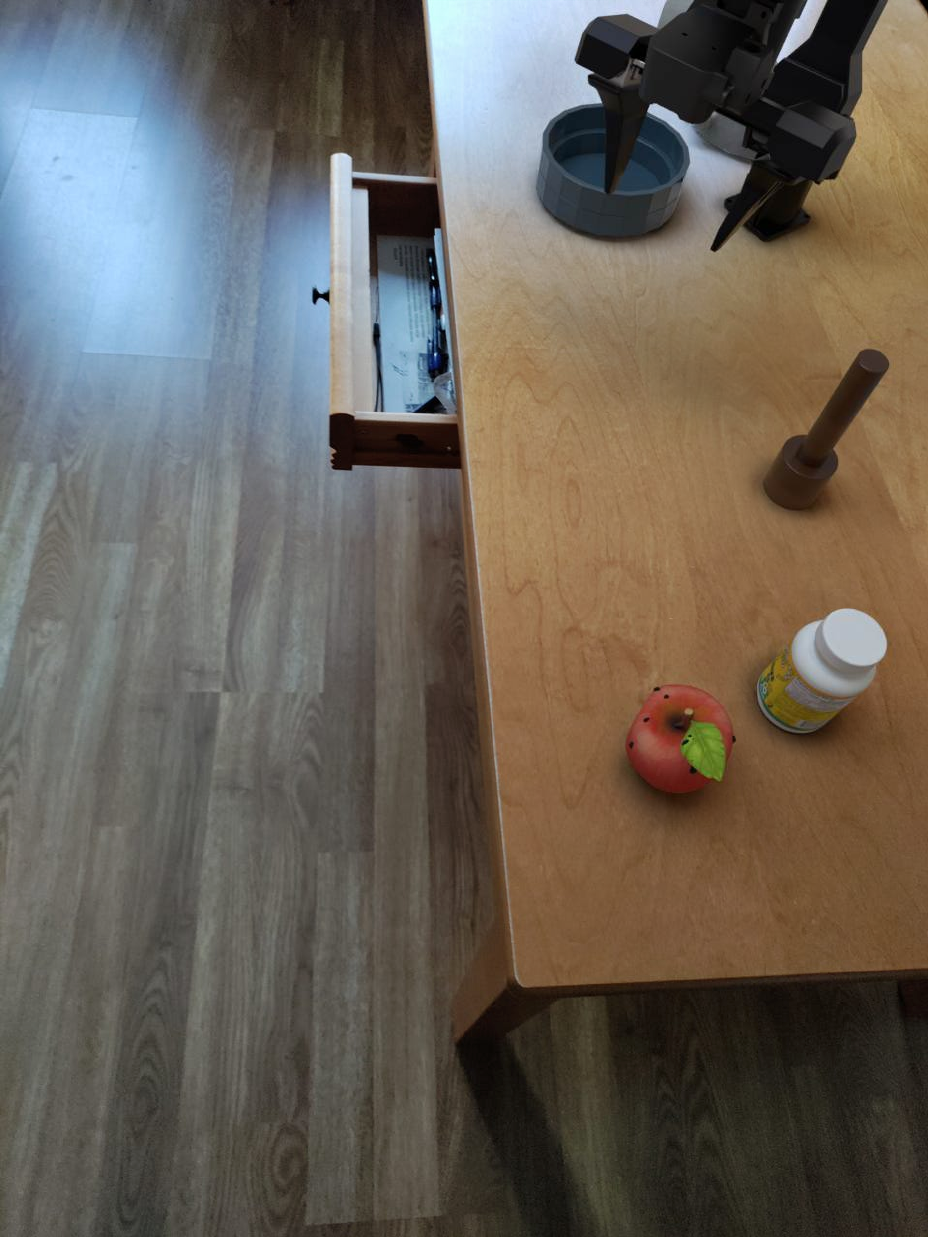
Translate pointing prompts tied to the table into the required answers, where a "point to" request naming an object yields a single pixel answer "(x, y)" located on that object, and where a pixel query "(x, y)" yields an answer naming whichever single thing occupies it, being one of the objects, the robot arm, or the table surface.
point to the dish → (726, 134)
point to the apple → (680, 739)
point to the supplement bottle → (821, 670)
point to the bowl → (579, 174)
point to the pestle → (823, 437)
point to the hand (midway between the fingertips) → (660, 221)
